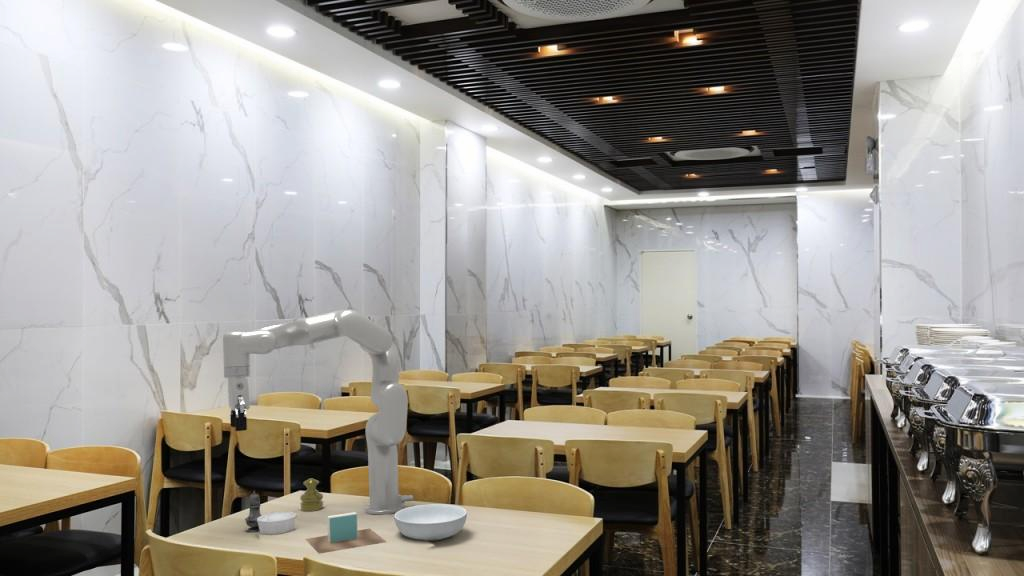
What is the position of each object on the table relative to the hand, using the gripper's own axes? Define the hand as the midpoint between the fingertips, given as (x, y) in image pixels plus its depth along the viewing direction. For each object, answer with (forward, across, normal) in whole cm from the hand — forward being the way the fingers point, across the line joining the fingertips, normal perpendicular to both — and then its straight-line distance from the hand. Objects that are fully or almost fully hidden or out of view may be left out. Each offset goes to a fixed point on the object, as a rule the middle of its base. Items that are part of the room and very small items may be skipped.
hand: (238, 428), depth 246 cm
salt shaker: (+31, 0, -4) cm, 32 cm away
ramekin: (+32, -8, -9) cm, 34 cm away
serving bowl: (+32, -37, -47) cm, 68 cm away
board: (+31, -31, -24) cm, 50 cm away
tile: (+30, -30, -23) cm, 48 cm away
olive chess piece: (+32, +16, -25) cm, 43 cm away
